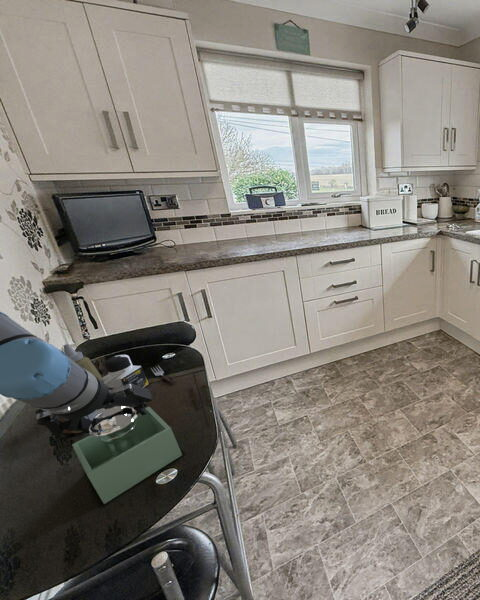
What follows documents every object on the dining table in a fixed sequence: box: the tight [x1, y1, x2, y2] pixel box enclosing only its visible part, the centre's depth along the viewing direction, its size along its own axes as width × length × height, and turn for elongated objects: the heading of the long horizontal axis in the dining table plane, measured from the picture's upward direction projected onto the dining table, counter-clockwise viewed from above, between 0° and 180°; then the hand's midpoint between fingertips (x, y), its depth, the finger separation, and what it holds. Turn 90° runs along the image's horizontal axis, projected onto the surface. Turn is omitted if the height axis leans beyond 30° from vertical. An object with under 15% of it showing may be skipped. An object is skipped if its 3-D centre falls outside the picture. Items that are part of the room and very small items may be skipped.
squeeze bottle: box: [62, 343, 104, 382], centre depth 102 cm, size 8×8×18 cm
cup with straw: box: [88, 370, 141, 457], centre depth 71 cm, size 8×9×20 cm
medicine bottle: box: [102, 354, 149, 388], centre depth 103 cm, size 7×7×12 cm
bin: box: [71, 406, 183, 505], centre depth 74 cm, size 15×15×8 cm
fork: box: [150, 365, 174, 385], centre depth 110 cm, size 3×16×2 cm, turn 53°
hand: (118, 418), depth 74 cm, fingers closed on cup with straw, 8 cm apart
